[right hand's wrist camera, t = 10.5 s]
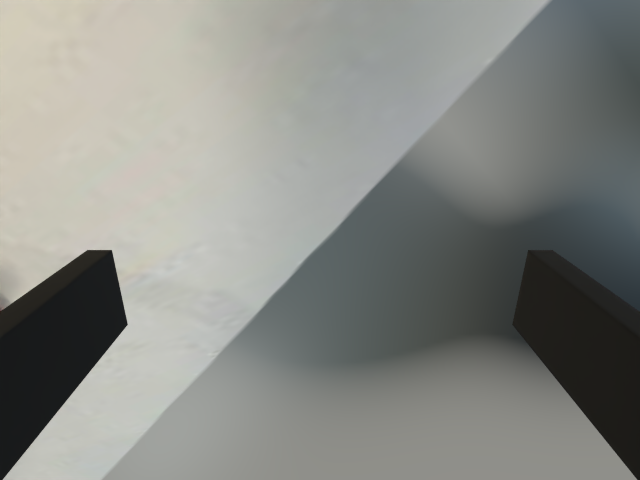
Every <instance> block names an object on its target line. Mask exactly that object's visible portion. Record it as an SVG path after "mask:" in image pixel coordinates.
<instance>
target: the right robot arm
mask: <svg viewBox="0 0 640 480" xmlns="http://www.w3.org/2000/svg"><path fill="white" fill-rule="evenodd" d="M127 325H128V324H127V319H126V315H125V310H124V305H123V301H122V296H121V291H120V287H119V282H118V277H117V272H116V268H115V263H114V258H113V254H112V250H87V251H86V252H84V253H83V254H81V255H80V256H79V257H77V258H76V259H74V260H73V261H71V262H70V263H69V264H67V265H66V266H64V267H63V268H62V269H60V270H59V271H57V272H56V273H54V274H53V275H52V276H50V277H49V278H47V279H46V280H45V281H43V282H42V283H40V284H39V285H37V286H36V287H35V288H33V289H32V290H30V291H29V292H28V293H26V294H25V295H23V296H22V297H20V298H19V299H18V300H16V301H15V302H13V303H12V304H11V305H9V306H8V307H6V308H5V309H3V310H2V311H1V312H0V480H3V478H4V477H5V476H6V475H7V473H8V472H9V471H10V470H11V469H12V467H13V466H14V465H15V464H16V462H17V461H18V460H19V459H20V457H21V456H22V455H23V454H24V452H25V451H26V450H27V449H28V447H29V446H30V445H31V444H32V443H33V441H34V440H35V439H36V438H37V436H38V435H39V434H40V433H41V431H42V430H43V429H44V428H45V426H46V425H47V424H48V423H49V421H50V420H51V419H52V418H53V416H54V415H55V414H56V413H57V412H58V410H59V409H60V408H61V407H62V405H63V404H64V403H65V402H66V400H67V399H68V398H69V397H70V395H71V394H72V393H73V392H74V390H75V389H76V388H77V387H78V385H79V384H80V383H81V382H82V381H83V379H84V378H85V377H86V376H87V374H88V373H89V372H90V371H91V369H92V368H93V367H94V366H95V364H96V363H97V362H98V361H99V359H100V358H101V357H102V356H103V355H104V353H105V352H106V351H107V350H108V348H109V347H110V346H111V345H112V343H113V342H114V341H115V340H116V338H117V337H118V336H119V335H120V333H121V332H122V331H123V330H124V328H125V327H126V326H127ZM513 326H514V327H515V328H516V330H517V331H518V332H519V333H520V335H521V336H522V337H523V338H524V340H525V341H526V342H527V343H528V345H529V346H530V347H531V348H532V350H533V351H534V352H535V353H536V355H537V356H538V357H539V358H540V359H541V361H542V362H543V363H544V364H545V366H546V367H547V368H548V369H549V371H550V372H551V373H552V374H553V376H554V377H555V378H556V379H557V381H558V382H559V383H560V384H561V385H562V387H563V388H564V389H565V390H566V392H567V393H568V394H569V395H570V397H571V398H572V399H573V400H574V402H575V403H576V404H577V405H578V407H579V408H580V409H581V410H582V412H583V413H584V414H585V415H586V416H587V418H588V419H589V420H590V421H591V423H592V424H593V425H594V426H595V428H596V429H597V430H598V431H599V433H600V434H601V435H602V436H603V437H604V439H605V440H606V441H607V442H608V444H609V445H610V446H611V447H612V449H613V450H614V451H615V452H616V454H617V455H618V456H619V457H620V459H621V460H622V461H623V462H624V464H625V465H626V466H627V467H628V468H629V470H630V471H631V472H632V473H633V475H634V476H635V477H636V478H637V480H640V312H639V311H638V310H637V309H635V308H634V307H632V306H631V305H629V304H628V303H627V302H625V301H624V300H622V299H621V298H620V297H618V296H617V295H615V294H614V293H612V292H611V291H610V290H608V289H607V288H605V287H604V286H602V285H601V284H600V283H598V282H597V281H595V280H594V279H593V278H591V277H590V276H588V275H587V274H586V273H584V272H583V271H581V270H580V269H578V268H577V267H576V266H574V265H573V264H571V263H570V262H569V261H567V260H566V259H564V258H563V257H561V256H560V255H559V254H557V253H556V252H554V251H553V250H528V254H527V258H526V263H525V268H524V272H523V277H522V282H521V287H520V292H519V296H518V301H517V305H516V310H515V315H514V319H513Z"/></svg>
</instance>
